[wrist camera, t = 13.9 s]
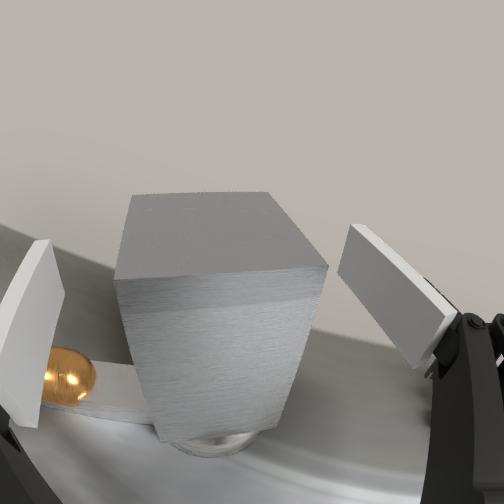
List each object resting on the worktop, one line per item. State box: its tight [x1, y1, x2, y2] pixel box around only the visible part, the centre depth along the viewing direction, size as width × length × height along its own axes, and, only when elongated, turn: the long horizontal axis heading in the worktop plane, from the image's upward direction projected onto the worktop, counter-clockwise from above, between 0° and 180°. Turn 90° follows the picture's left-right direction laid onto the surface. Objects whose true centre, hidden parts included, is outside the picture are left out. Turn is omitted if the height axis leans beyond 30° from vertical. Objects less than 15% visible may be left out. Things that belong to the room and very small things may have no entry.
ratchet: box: [40, 346, 262, 458], centre depth 15 cm, size 22×7×5 cm, turn 95°
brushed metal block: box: [114, 192, 329, 443], centre depth 13 cm, size 6×6×10 cm
